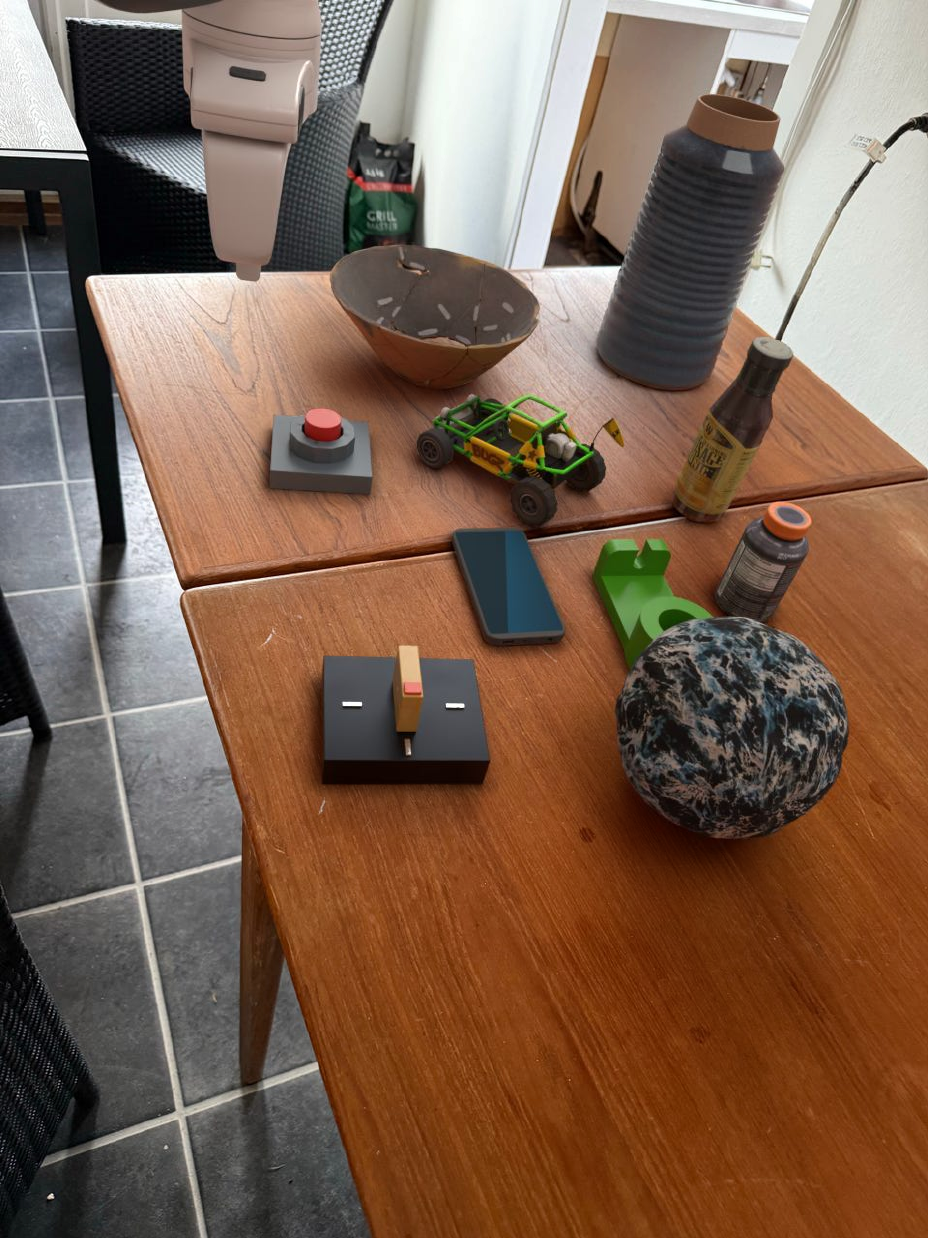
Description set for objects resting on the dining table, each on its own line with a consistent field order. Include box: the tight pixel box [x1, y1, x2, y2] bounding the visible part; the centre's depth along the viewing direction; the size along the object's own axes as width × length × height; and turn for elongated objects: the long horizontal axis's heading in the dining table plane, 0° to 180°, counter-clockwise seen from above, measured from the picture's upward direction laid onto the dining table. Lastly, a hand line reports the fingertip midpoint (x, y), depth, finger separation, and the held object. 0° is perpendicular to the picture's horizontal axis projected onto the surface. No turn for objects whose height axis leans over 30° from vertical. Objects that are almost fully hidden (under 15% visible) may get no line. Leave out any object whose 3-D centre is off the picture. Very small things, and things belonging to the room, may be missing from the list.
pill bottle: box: [714, 501, 812, 624], centre depth 82 cm, size 6×6×11 cm
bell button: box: [304, 407, 342, 442], centre depth 88 cm, size 4×4×2 cm
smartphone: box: [451, 527, 566, 647], centre depth 82 cm, size 8×15×1 cm, turn 13°
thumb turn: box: [392, 644, 423, 732], centre depth 65 cm, size 5×2×4 cm, turn 7°
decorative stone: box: [614, 615, 850, 840], centre depth 64 cm, size 16×16×15 cm
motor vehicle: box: [415, 393, 625, 528], centre depth 91 cm, size 12×19×11 cm, turn 51°
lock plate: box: [320, 655, 491, 785], centre depth 67 cm, size 12×10×3 cm
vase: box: [595, 93, 786, 391], centre depth 110 cm, size 16×16×32 cm
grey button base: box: [269, 413, 373, 495], centre depth 90 cm, size 10×10×4 cm
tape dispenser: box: [591, 538, 714, 670], centre depth 80 cm, size 15×7×5 cm, turn 11°
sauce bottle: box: [671, 336, 794, 524], centre depth 90 cm, size 6×6×20 cm
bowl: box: [329, 244, 541, 390], centre depth 106 cm, size 25×25×10 cm
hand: (249, 273), depth 68 cm, fingers closed
